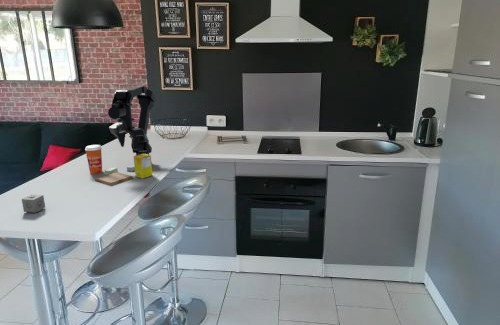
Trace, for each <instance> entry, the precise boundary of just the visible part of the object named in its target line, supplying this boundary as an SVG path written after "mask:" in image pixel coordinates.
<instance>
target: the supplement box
mask: <svg viewBox="0 0 500 325" xmlns="http://www.w3.org/2000/svg"><path fill="white" fill-rule="evenodd" d="M151 162H152V155H150V154H149V155H148V154H140V155H136V154H135V155H133V164H134V166H135V170H134V175H135V177H136V178H139V179H141V180H143V179H144V180H145V179H147V178H150V177H153V166H152V163H151Z"/></svg>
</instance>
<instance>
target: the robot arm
mask: <svg viewBox="0 0 500 325" xmlns="http://www.w3.org/2000/svg"><path fill="white" fill-rule="evenodd" d="M135 97H136V99H137V100H138V104H139V107H140V112H139V118H138V125H137V128H135V125H133V121H134V120H135V118H134V117H133V116H132V106H133V103H132V101H133V100H134V98H135ZM156 100H157V98H156V95H155V94H154V92H153V91H152V90H150V89H149V88H147V86H146V85H136V86H134V87H131V88H128V89H116V90H115V92H114V95H113V98H112V102H111V107H110V108H109V109H108V111H107V115H108V117H109V118H110V119H111V120H117V121H116V122H115V123H114V124H112V125H110V126H109V127H108V129H109V131H110V133H111V134H112V135H114V136H115V137H116V138H117V140H118V142H119V145H120V146H121V148H124V147H125V141H126V140H125V139H126V133H127V134H129V136H128V137H129V138H130V139H131V149H132V153H133V154H135V155H140V154H148V155H150V154H151V153H152V152H153V149H152V145H151V144H150V143H149V142H150V140H149V138H148V135H147V134H148V128H149V122H150V121H149V120H150V113H151V110H152V109H153V107H154V106H155V103H156ZM151 164H152V161H151Z"/></svg>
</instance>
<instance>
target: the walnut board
mask: <svg viewBox="0 0 500 325" xmlns="http://www.w3.org/2000/svg"><path fill="white" fill-rule="evenodd" d="M133 178H134V177H133V175H130V174H126V173H121V172H119V171H118V172H116V173H112V174H108V175H105V174H104V175H102V176H97V177H95V178H94V181H95V182H97V183H98V182H99V183H102V184H105V185H108V186H113V185H117V184H119V183H123V182H126V181H129V180H132V179H133Z"/></svg>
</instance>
